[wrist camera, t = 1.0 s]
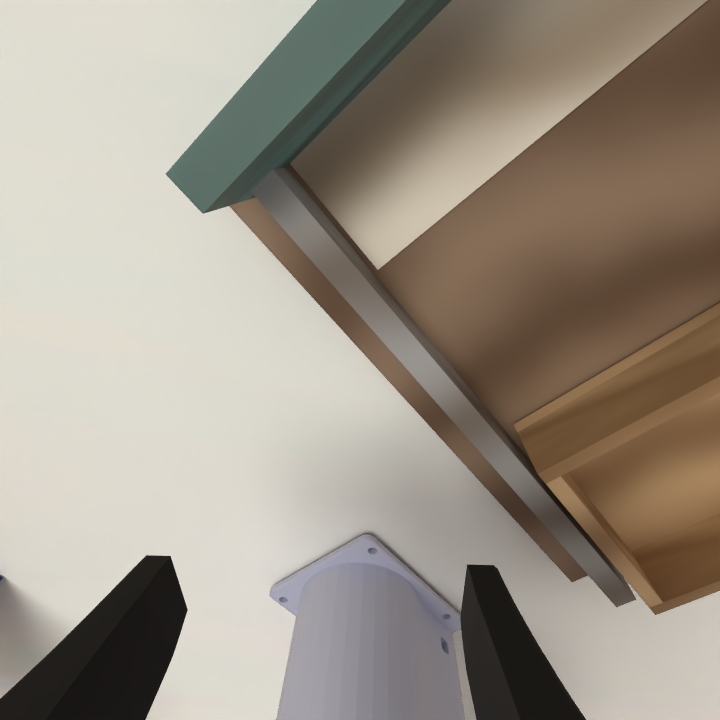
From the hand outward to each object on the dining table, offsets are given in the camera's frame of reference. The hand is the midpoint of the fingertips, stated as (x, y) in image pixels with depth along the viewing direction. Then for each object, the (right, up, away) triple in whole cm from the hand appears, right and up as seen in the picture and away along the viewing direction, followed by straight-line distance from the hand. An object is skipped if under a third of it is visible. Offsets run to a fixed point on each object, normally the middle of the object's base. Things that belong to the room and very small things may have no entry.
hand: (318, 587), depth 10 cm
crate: (+16, +3, +8) cm, 18 cm away
